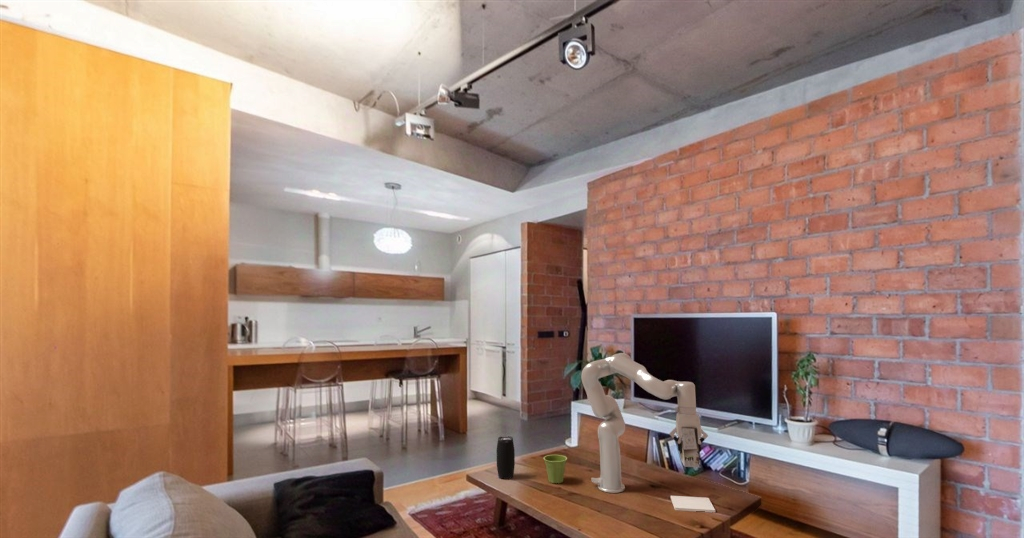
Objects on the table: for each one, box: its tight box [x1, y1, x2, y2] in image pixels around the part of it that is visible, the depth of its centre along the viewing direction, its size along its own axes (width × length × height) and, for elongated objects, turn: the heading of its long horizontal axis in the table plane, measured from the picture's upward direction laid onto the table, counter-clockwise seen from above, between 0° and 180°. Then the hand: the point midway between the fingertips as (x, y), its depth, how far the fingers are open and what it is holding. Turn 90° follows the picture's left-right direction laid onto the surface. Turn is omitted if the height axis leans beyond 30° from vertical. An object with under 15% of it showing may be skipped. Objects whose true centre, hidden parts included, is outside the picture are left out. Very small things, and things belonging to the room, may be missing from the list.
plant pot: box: [543, 454, 568, 484], centre depth 228 cm, size 12×12×11 cm
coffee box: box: [680, 427, 700, 468], centre depth 199 cm, size 9×6×16 cm
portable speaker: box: [496, 435, 516, 480], centre depth 235 cm, size 9×9×20 cm
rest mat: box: [670, 495, 716, 513], centre depth 197 cm, size 16×13×1 cm
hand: (689, 452), depth 199 cm, fingers closed on coffee box, 6 cm apart
